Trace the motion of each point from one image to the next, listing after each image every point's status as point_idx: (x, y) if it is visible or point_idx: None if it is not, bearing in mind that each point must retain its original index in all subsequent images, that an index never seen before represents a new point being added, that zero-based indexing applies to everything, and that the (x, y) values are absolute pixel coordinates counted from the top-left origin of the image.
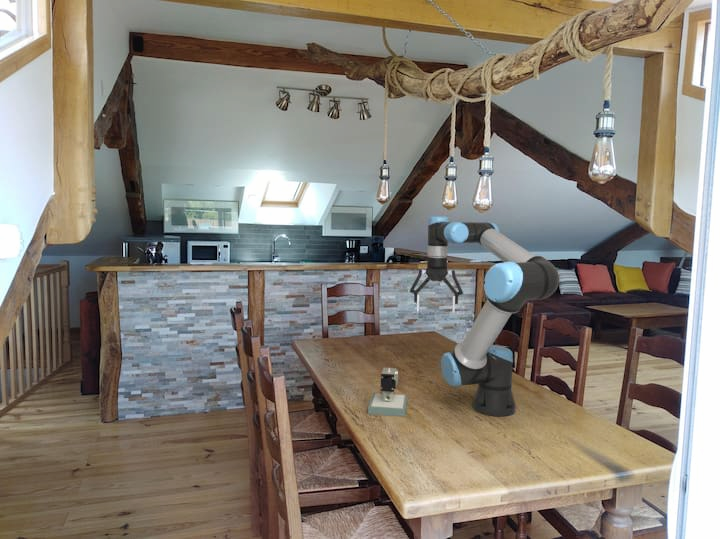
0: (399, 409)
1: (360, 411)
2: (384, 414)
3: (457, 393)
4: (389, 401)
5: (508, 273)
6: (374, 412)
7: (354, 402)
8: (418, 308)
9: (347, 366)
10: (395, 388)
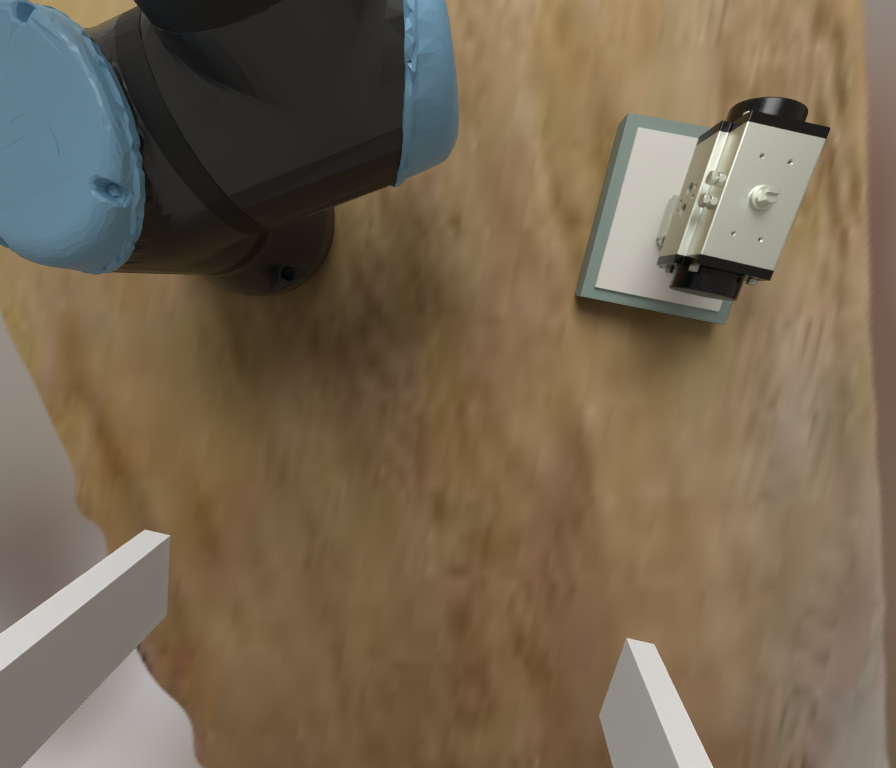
0: (652, 117)
1: None
2: None
3: (361, 381)
4: None
5: None
6: None
7: (796, 287)
8: (648, 677)
9: (736, 696)
10: (700, 136)
